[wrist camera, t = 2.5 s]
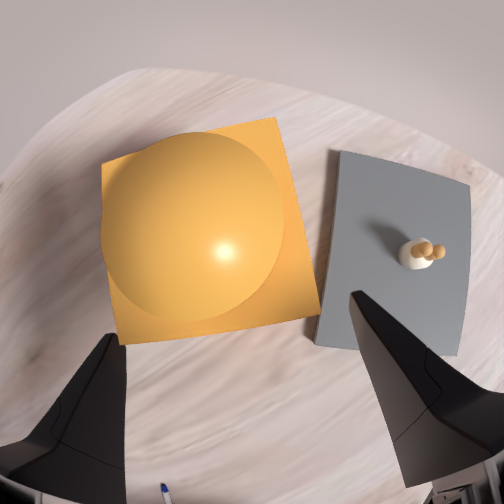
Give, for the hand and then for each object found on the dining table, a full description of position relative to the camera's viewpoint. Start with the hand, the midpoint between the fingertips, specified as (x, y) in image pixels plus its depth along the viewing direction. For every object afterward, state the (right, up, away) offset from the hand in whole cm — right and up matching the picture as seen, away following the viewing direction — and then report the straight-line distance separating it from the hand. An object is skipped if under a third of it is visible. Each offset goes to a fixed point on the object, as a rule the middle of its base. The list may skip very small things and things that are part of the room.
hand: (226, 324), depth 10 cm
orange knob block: (0, +2, +10) cm, 11 cm away
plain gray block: (+12, +2, +9) cm, 16 cm away
